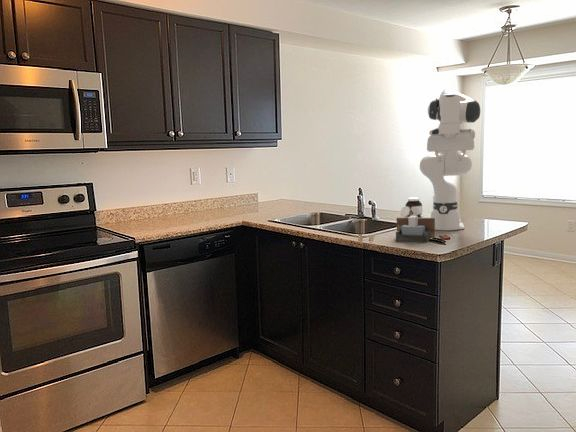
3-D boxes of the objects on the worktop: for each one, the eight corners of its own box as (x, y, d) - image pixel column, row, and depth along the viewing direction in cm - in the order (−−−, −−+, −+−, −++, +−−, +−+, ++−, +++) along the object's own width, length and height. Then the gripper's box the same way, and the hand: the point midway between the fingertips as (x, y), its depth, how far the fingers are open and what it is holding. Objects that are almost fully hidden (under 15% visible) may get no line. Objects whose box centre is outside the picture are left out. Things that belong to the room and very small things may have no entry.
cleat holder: (398, 236, 233) (397, 217, 232) (435, 238, 225) (434, 218, 223) (392, 241, 225) (391, 220, 223) (430, 242, 216) (430, 221, 214)
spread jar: (424, 216, 293) (423, 197, 292) (416, 218, 285) (416, 199, 283) (406, 215, 301) (405, 197, 299) (398, 217, 292) (398, 199, 290)
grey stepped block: (404, 238, 229) (404, 215, 228) (425, 239, 225) (425, 215, 223) (401, 240, 224) (401, 217, 222) (422, 241, 219) (422, 217, 218)
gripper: (475, 128, 207) (475, 159, 209) (428, 131, 217) (429, 161, 219) (474, 128, 202) (473, 160, 204) (425, 131, 212) (426, 162, 214)
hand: (450, 161), depth 212 cm, fingers open, 8 cm apart
